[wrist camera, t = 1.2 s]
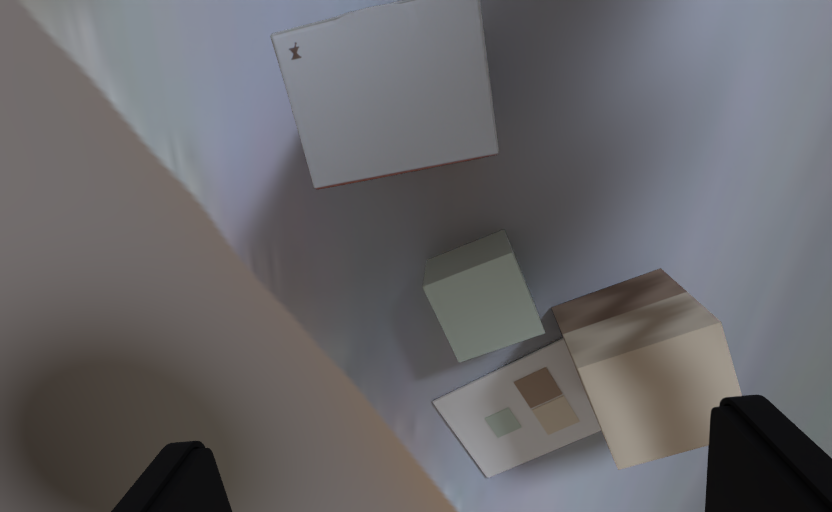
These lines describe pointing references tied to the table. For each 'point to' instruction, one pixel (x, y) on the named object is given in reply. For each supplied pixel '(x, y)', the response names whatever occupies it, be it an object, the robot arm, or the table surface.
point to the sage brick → (481, 297)
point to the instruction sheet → (520, 410)
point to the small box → (389, 89)
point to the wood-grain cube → (648, 365)
